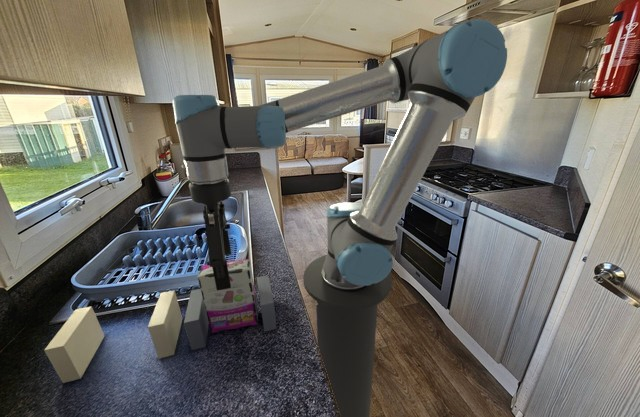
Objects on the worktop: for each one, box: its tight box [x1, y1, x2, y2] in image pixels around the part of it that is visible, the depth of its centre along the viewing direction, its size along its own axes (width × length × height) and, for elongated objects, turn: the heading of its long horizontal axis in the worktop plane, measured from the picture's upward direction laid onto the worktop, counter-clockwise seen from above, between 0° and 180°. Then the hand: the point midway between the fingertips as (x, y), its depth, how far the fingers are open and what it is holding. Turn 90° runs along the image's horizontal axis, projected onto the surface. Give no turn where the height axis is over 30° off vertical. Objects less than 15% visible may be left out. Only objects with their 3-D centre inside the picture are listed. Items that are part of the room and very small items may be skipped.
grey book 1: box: [183, 288, 209, 351], centre depth 62 cm, size 3×11×8 cm, turn 17°
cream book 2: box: [147, 289, 184, 359], centre depth 60 cm, size 3×11×9 cm, turn 17°
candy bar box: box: [197, 258, 259, 334], centre depth 62 cm, size 11×5×16 cm, turn 102°
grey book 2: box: [256, 274, 278, 332], centre depth 66 cm, size 3×11×8 cm, turn 17°
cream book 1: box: [43, 306, 106, 384], centre depth 55 cm, size 3×11×9 cm, turn 17°
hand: (224, 269), depth 60 cm, fingers open, 13 cm apart
